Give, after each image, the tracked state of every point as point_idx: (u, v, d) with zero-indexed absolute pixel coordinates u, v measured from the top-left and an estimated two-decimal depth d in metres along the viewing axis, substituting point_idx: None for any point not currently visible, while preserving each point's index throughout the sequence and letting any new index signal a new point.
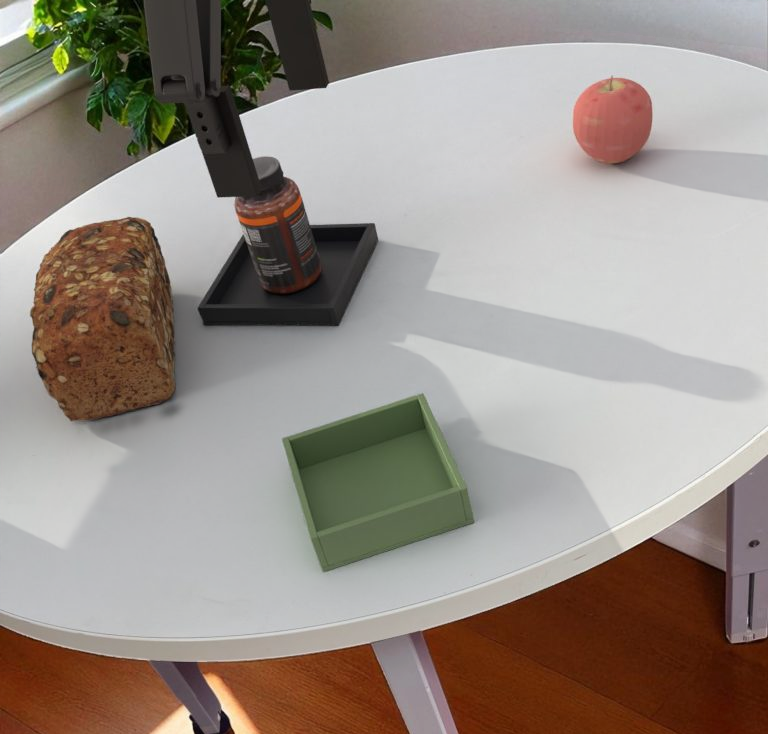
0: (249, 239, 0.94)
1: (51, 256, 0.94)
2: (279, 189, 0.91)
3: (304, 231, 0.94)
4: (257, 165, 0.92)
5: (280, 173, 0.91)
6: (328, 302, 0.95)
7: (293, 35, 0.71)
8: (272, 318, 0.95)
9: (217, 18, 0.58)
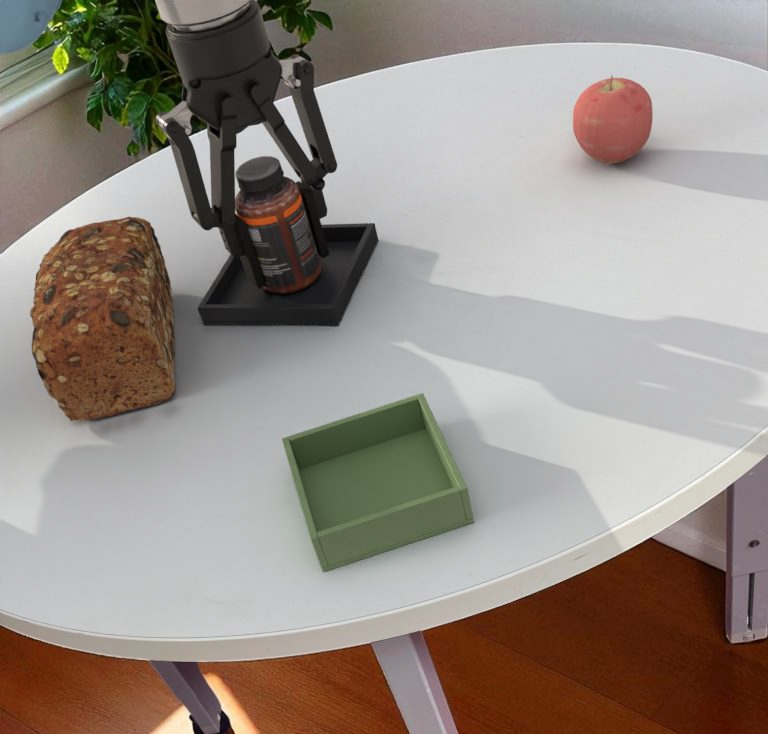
0: None
1: (51, 256, 0.94)
2: (279, 188, 0.92)
3: (304, 231, 0.94)
4: (258, 165, 0.92)
5: (280, 173, 0.91)
6: (328, 302, 0.95)
7: None
8: (272, 318, 0.95)
9: (230, 180, 0.90)
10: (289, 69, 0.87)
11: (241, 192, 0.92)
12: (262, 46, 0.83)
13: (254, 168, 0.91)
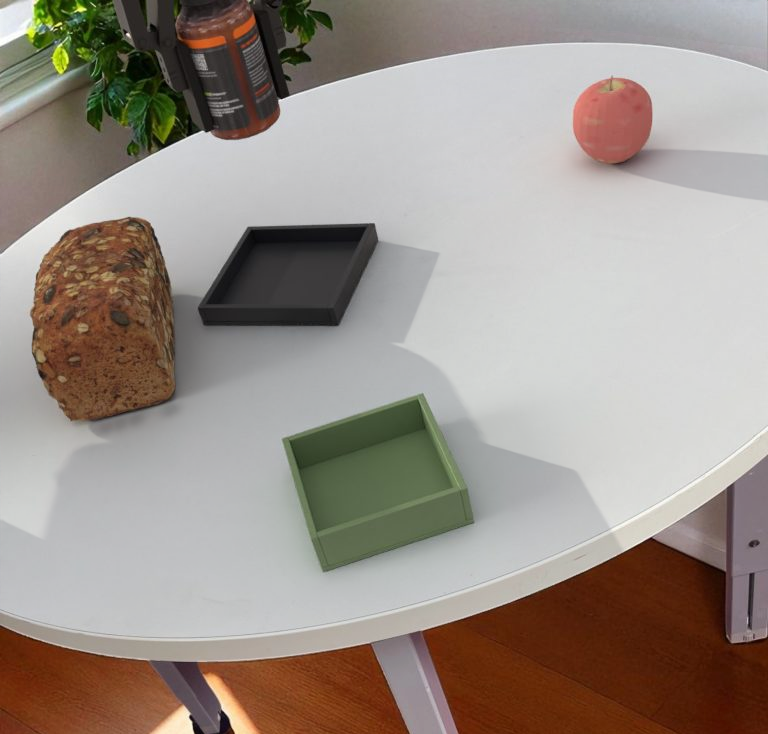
0: None
1: (51, 256, 0.94)
2: (228, 3, 0.77)
3: (259, 60, 0.80)
4: None
5: None
6: (328, 302, 0.95)
7: None
8: (272, 318, 0.95)
9: None
10: None
11: (183, 9, 0.78)
12: None
13: None
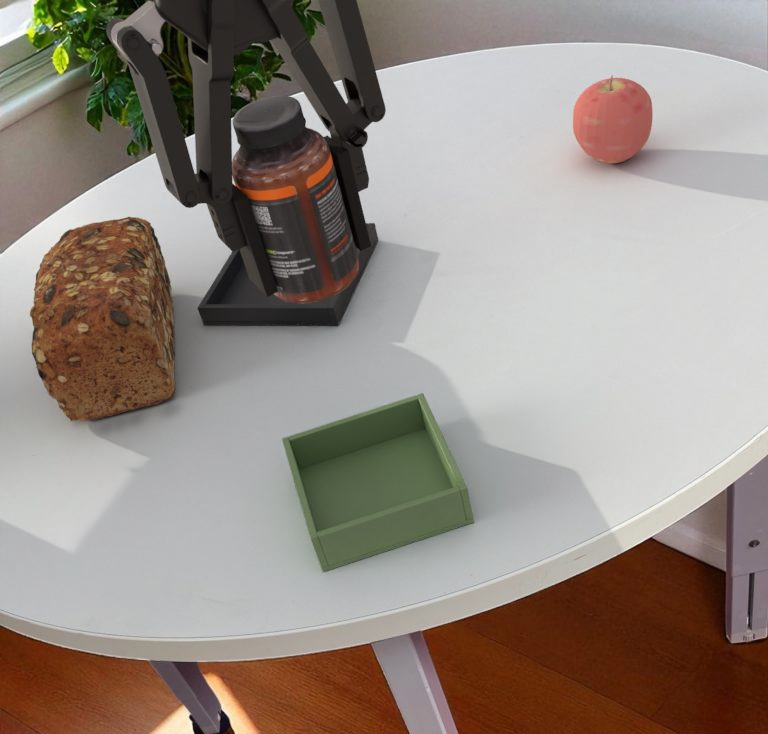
0: None
1: (51, 256, 0.94)
2: (300, 144, 0.60)
3: (337, 210, 0.63)
4: (267, 109, 0.60)
5: (301, 120, 0.60)
6: (328, 302, 0.95)
7: None
8: (272, 318, 0.95)
9: (225, 130, 0.58)
10: None
11: (241, 150, 0.61)
12: None
13: (260, 113, 0.60)
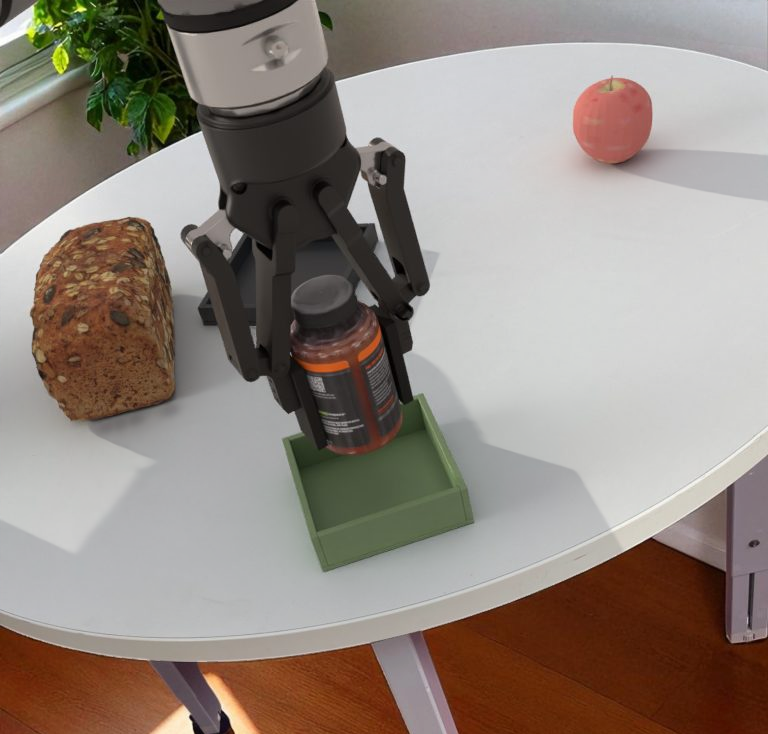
0: None
1: (51, 256, 0.94)
2: (352, 322, 0.65)
3: (384, 375, 0.68)
4: (322, 289, 0.65)
5: (354, 300, 0.65)
6: None
7: None
8: None
9: (285, 315, 0.63)
10: (370, 160, 0.61)
11: (298, 326, 0.66)
12: (338, 134, 0.56)
13: (316, 294, 0.65)
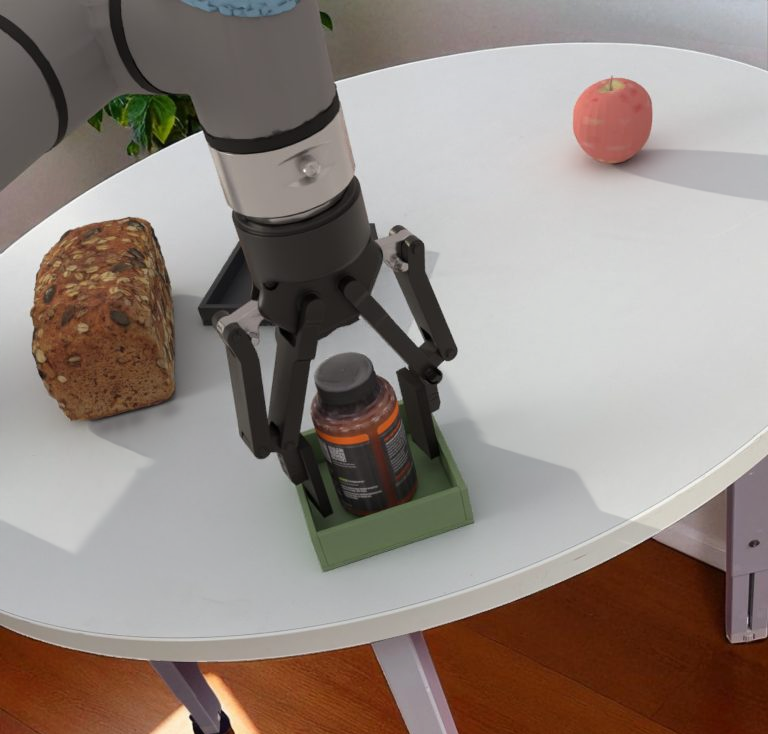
0: (330, 457, 0.72)
1: (51, 256, 0.94)
2: (372, 398, 0.70)
3: (401, 445, 0.72)
4: (343, 367, 0.70)
5: (373, 378, 0.69)
6: None
7: (412, 411, 0.75)
8: None
9: (300, 397, 0.67)
10: (392, 250, 0.65)
11: (321, 400, 0.70)
12: (363, 237, 0.61)
13: (338, 372, 0.69)
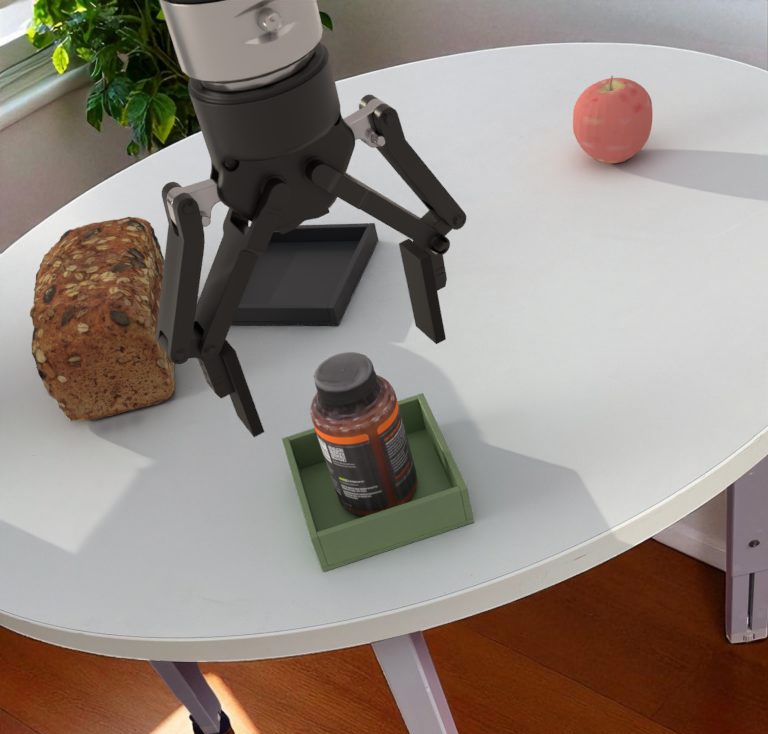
0: (330, 457, 0.72)
1: (51, 256, 0.94)
2: (372, 398, 0.70)
3: (401, 445, 0.72)
4: (343, 367, 0.70)
5: (373, 378, 0.69)
6: (328, 302, 0.95)
7: (416, 288, 0.69)
8: (272, 318, 0.95)
9: (236, 296, 0.61)
10: (363, 126, 0.60)
11: (321, 400, 0.70)
12: (331, 111, 0.56)
13: (338, 372, 0.69)
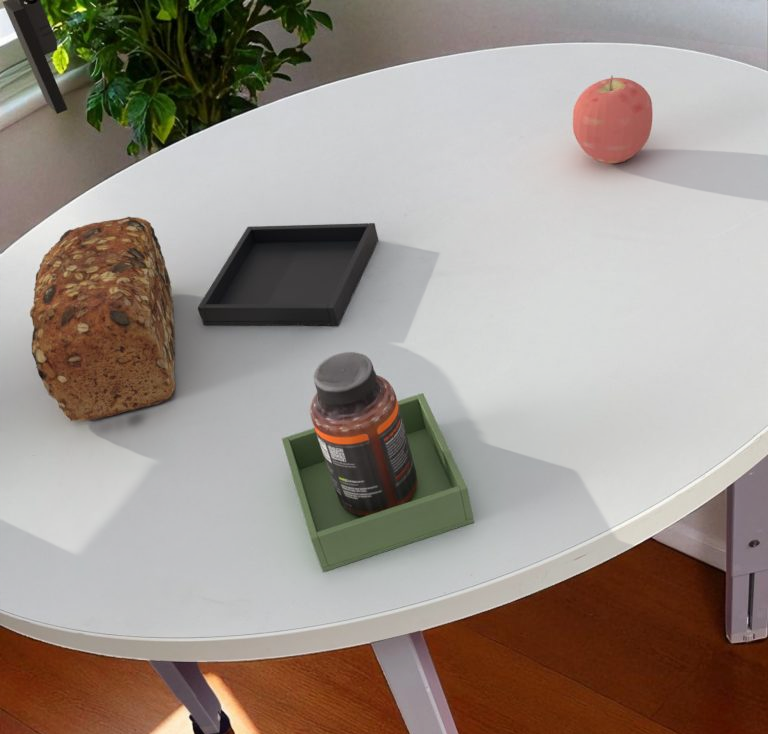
0: (330, 457, 0.72)
1: (51, 256, 0.94)
2: (372, 398, 0.70)
3: (401, 445, 0.72)
4: (343, 367, 0.70)
5: (373, 378, 0.69)
6: (328, 302, 0.95)
7: (27, 52, 0.68)
8: (272, 318, 0.95)
9: None
10: None
11: (320, 400, 0.70)
12: None
13: (338, 372, 0.69)
